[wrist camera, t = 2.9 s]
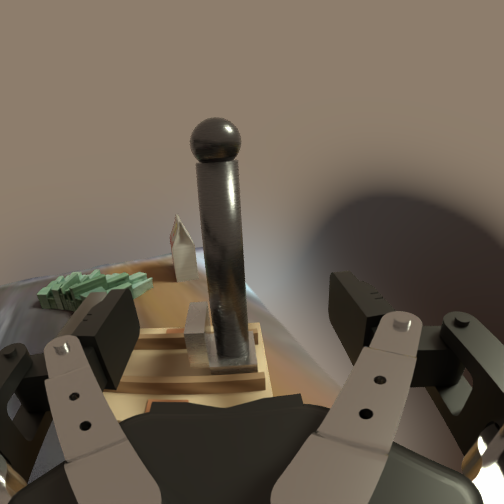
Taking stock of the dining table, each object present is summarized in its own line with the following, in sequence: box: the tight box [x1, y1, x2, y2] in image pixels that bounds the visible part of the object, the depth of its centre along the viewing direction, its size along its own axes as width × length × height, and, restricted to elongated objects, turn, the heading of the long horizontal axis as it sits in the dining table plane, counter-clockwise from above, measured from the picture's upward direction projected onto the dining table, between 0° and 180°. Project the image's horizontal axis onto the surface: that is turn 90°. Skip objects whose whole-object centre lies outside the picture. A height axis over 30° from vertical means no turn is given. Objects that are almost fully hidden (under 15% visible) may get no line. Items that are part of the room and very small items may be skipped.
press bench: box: [56, 292, 273, 423], centre depth 26 cm, size 18×14×8 cm
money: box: [37, 270, 153, 312], centre depth 45 cm, size 20×16×5 cm
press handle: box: [184, 117, 258, 375], centre depth 23 cm, size 6×5×21 cm
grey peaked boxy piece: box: [170, 215, 199, 282], centre depth 51 cm, size 4×7×10 cm, turn 18°
